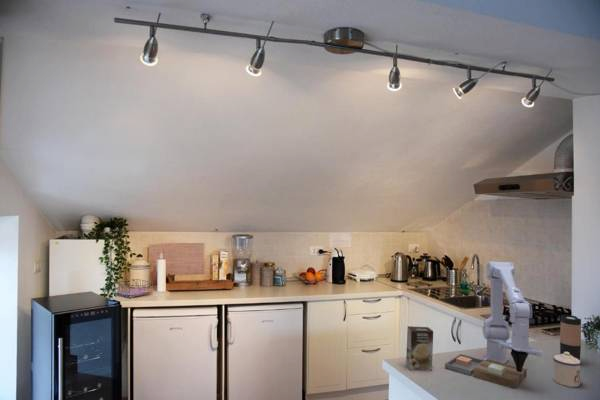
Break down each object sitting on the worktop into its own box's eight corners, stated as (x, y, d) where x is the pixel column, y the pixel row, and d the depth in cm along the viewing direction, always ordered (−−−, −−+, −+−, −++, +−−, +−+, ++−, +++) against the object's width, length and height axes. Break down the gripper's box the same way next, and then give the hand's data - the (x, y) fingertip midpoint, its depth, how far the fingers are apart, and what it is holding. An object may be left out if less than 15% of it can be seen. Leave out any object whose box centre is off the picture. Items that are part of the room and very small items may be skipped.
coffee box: (410, 370, 168) (411, 330, 168) (405, 364, 174) (406, 326, 174) (432, 370, 168) (433, 331, 168) (427, 364, 174) (428, 326, 175)
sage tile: (492, 368, 164) (492, 363, 164) (505, 372, 161) (505, 366, 161) (487, 371, 161) (487, 366, 161) (501, 375, 157) (501, 370, 157)
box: (460, 358, 182) (460, 353, 182) (484, 365, 175) (484, 360, 175) (444, 368, 171) (444, 363, 171) (470, 376, 164) (470, 370, 164)
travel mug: (557, 362, 180) (558, 316, 181) (561, 358, 186) (562, 313, 186) (578, 367, 175) (579, 320, 176) (581, 363, 181) (582, 317, 181)
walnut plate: (487, 365, 175) (487, 358, 175) (526, 376, 164) (526, 369, 164) (473, 376, 163) (473, 369, 163) (514, 389, 153) (514, 380, 153)
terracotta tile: (472, 358, 176) (472, 363, 176) (460, 355, 179) (460, 360, 179) (467, 362, 172) (467, 366, 172) (456, 358, 175) (455, 363, 175)
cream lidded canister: (580, 389, 153) (581, 358, 154) (551, 383, 159) (552, 353, 159) (580, 379, 163) (581, 349, 163) (553, 373, 169) (554, 344, 169)
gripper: (496, 332, 157) (495, 368, 157) (539, 341, 148) (538, 380, 147) (502, 328, 163) (501, 363, 162) (543, 337, 153) (543, 374, 153)
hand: (519, 371), depth 155 cm, fingers closed
